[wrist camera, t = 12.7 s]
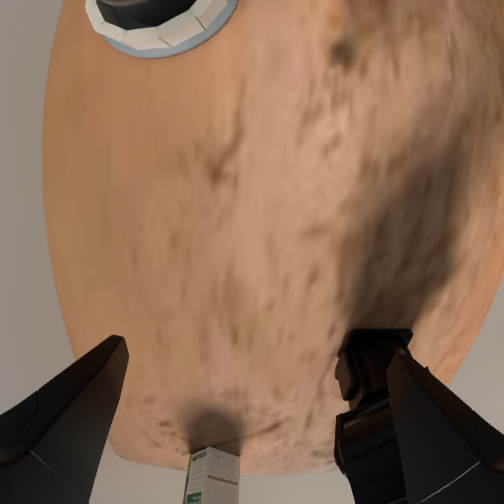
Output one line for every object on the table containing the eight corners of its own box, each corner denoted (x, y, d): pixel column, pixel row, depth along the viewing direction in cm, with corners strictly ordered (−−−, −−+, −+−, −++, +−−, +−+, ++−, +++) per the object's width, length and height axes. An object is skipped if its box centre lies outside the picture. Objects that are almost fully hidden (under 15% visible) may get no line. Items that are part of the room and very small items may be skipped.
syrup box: (208, 445, 35) (196, 534, 22) (242, 456, 36) (237, 541, 23) (189, 454, 37) (176, 534, 24) (221, 465, 39) (213, 542, 26)
